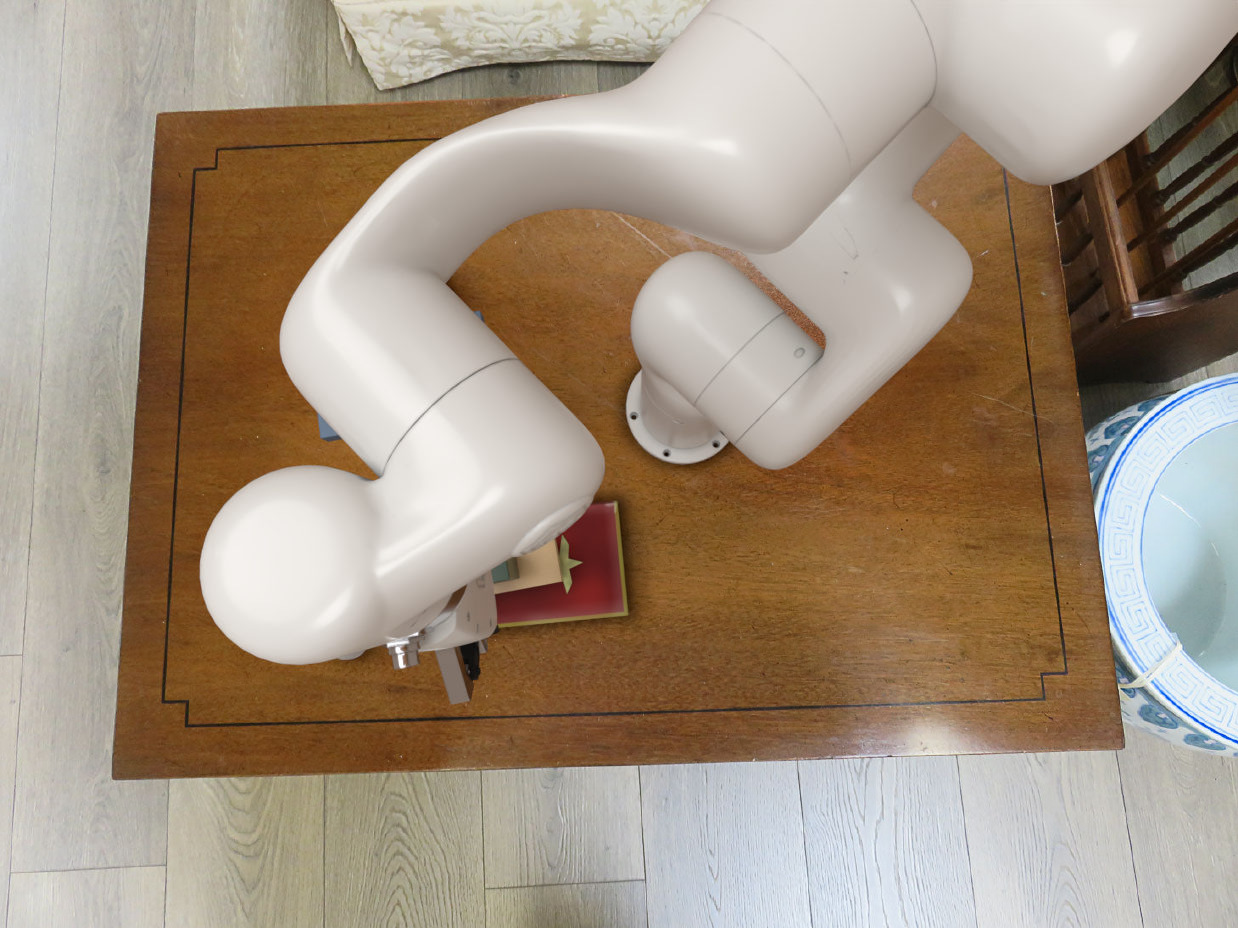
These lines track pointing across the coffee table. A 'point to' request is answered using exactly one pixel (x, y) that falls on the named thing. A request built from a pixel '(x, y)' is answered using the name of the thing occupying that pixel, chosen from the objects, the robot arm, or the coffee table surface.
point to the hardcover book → (576, 576)
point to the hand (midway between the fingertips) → (468, 566)
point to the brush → (528, 570)
